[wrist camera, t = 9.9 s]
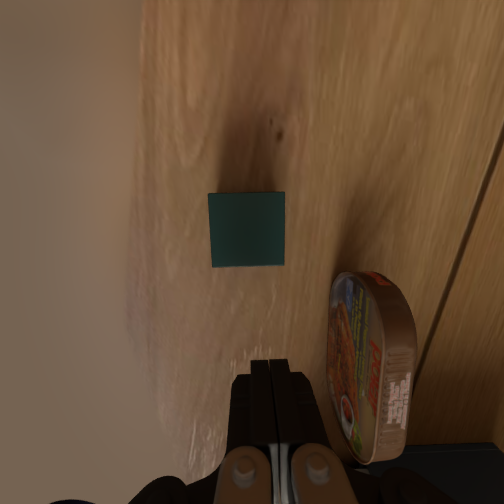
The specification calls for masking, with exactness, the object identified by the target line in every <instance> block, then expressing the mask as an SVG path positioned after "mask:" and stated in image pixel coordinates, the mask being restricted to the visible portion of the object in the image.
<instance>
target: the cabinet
mask: <svg viewBox="0 0 504 504" xmlns="http://www.w3.org/2000/svg"><path fill="white" fill-rule="evenodd" d="M392 467H402V468H406V469H409V470H412V471H414V472H416V473H418V474H419V475H421V476H422V477H424V478H425V479H426V480H428V481H429V482H430V483H432V484H433V485H434V486H436V487H437V488H438V489H440V490H441V491H443V492H444V493H445V494H447V495H448V496H449V497H451V498H452V499H453V500H455V501H456V502H458V503H459V504H504V453H503V452H502V451H501V450H499V448H498V447H497V446H496V445H495V444H494V443H469V444H443V445H417V446H405V447H404V449H403V452H402V453H401V455H400V456H398V457H397V458H394V459H391V460H384V461H377V462H371V463H370V464H367V465H364V464H361V463H359V469H368V471H369V474H370V475H373V476H376V477H380V478H381V476H382V474H383V473H384V471H385V470H387V469H389V468H392Z"/></svg>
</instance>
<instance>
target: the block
mask: <svg viewBox="0 0 504 504" xmlns="http://www.w3.org/2000/svg"><path fill="white" fill-rule="evenodd" d="M208 206H209V223H210V240H211V257H212V267H213V268H216V267H254V266H284V249H285V192H244V193H208Z"/></svg>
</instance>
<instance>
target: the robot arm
mask: <svg viewBox="0 0 504 504" xmlns="http://www.w3.org/2000/svg"><path fill="white" fill-rule="evenodd" d="M278 480H279V483H278ZM279 489H280V499H281V504H459V503H458V502H456V501H455V500H453V499H452V498H451V497H449V496H448V495H447V494H445V493H444V492H443V491H441V490H440V489H438V488H437V487H436V486H434V485H433V484H432V483H430V482H429V481H428V480H426V479H425V478H424V477H422V476H421V475H419V474H418V473H416V472H414V471H412V470H409V469H406V468H402V467H392V468H389V469H387V470H385V471H384V473H383V474H382V476H381V478H380V477H376V476H373V475H370V474H366V473H363V472H360V471H357V470H355V469H353V468H351V467H349V466H348V465H346V464H345V463H343V462H342V461H341V460H340V459H339V458H338V456H337V455H336V454H335V453H334V451H333V450H332V448H331V446H330V443H329V440H328V437H327V434H326V431H325V428H324V424H323V421H322V418H321V415H320V412H319V409H318V406H317V404H316V399H315V396H314V394H313V390H312V387H311V384H310V381H309V380H308V379H307V378H306V376H305V375H304V374H303V373H302V372H290V369H289V364H288V360H287V359H269V363H268V360H251V374H239V375H237V377H236V379H235V380H234V382H233V383H232V388H231V400H230V412H229V423H228V435H227V447H226V453H225V456H224V458H223V460H222V462H221V464H220V465H219V467H218V468H217V469H216V470H215V471H214V472H213V473H212V474H210V475H209V476H207V477H205V478H203V479H201V480H199V481H196V482H194V483H191V484H189V485H187V486H186V485H185V484H184V482H183V481H182V480H181V479H179V478H177V477H174V476H163V477H160V478H157V479H155V480H153V481H152V482H150V483H149V484H148V485H146V486H145V487H144V488H143V489H142V490H141V491H140V492H139V493H138V494H137V495H136V496H135V497H134V498H133V499H132V500H131V501H130V502H129V503H128V504H279Z"/></svg>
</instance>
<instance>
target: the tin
mask: <svg viewBox="0 0 504 504" xmlns="http://www.w3.org/2000/svg"><path fill="white" fill-rule="evenodd" d="M416 355H417V334H416V327H415V323H414V319H413V316H412V313H411V310H410V307H409V305H408V303H407V301H406V299H405V297H404V296H403V294H402V292H401V291H400V289H399V288H398V287H397V286H396V285H395V284H394V283H393V282H391V281H390V280H389V279H387V278H386V277H385V276H383V275H381V274H379V273H377V272H350V271H344V272H342V273H340V274H339V275H338V276H337V277H336V278H335V280H334V282H333V285H332V288H331V292H330V300H329V323H328V347H327V383H328V391H329V397H330V401H331V406H332V409H333V413H334V416H335V420H336V422H337V425H338V428H339V431H340V434H341V436H342V438H343V440H344V442H345V444H346V446H347V448H348V450H349V451H350V453H351V454H352V456H353V457H354V458H355V459H356V460H357V461H358V462H359V463H361V464H364V465H367V464H370V463H371V462H377V461H384V460H391V459H394V458H397V457H398V456H400V455H401V453H402V452H403V449H404V447H405V443H406V436H407V429H408V421H409V413H410V405H411V397H412V389H413V380H414V372H415V364H416Z"/></svg>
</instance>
